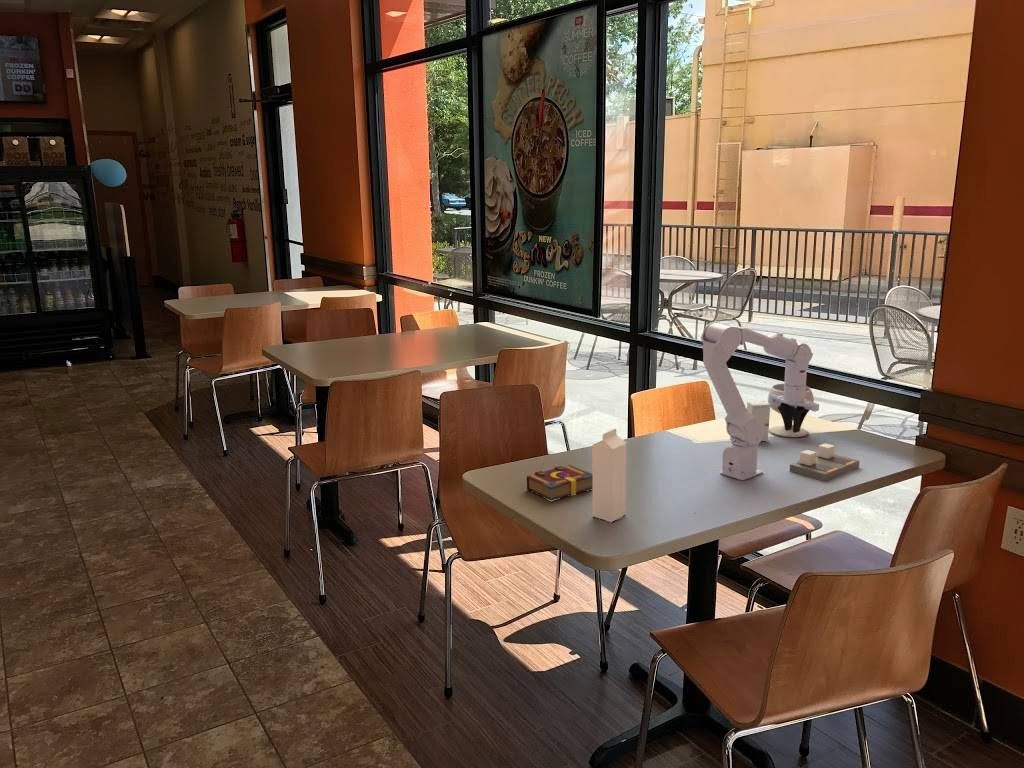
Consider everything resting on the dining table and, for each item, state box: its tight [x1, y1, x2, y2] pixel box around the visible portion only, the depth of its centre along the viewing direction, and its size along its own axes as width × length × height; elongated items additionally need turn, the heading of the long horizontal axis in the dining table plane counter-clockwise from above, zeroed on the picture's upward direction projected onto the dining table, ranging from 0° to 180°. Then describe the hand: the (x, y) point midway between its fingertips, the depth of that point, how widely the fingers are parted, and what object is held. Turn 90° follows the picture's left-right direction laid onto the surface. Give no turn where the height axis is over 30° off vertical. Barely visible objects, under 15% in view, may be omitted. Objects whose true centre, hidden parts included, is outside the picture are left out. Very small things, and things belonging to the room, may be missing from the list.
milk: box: [592, 428, 627, 521], centre depth 202 cm, size 6×6×22 cm
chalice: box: [767, 383, 815, 438], centre depth 266 cm, size 14×14×15 cm
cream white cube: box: [799, 449, 818, 466], centre depth 232 cm, size 3×3×3 cm
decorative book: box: [526, 464, 593, 500], centre depth 223 cm, size 11×16×5 cm
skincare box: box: [746, 400, 771, 442], centre depth 260 cm, size 6×4×12 cm
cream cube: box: [817, 442, 835, 459], centre depth 237 cm, size 3×3×3 cm
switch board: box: [789, 453, 860, 482], centre depth 234 cm, size 17×11×2 cm, turn 128°
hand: (792, 430), depth 235 cm, fingers open, 2 cm apart
